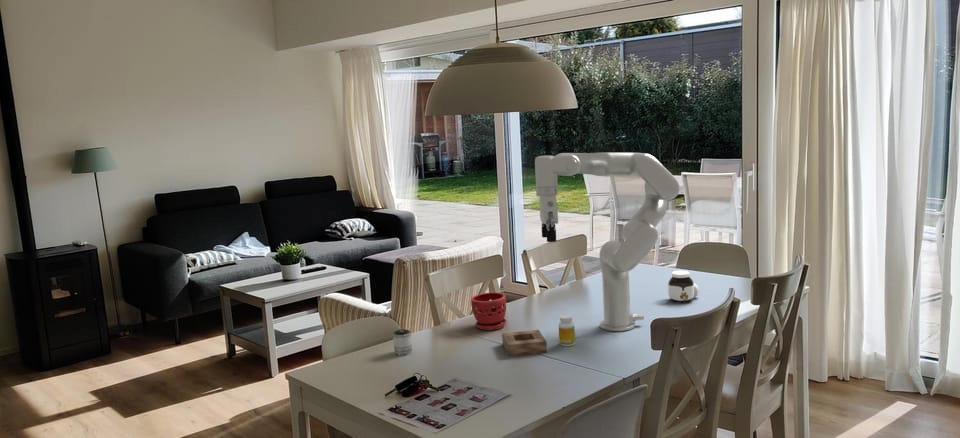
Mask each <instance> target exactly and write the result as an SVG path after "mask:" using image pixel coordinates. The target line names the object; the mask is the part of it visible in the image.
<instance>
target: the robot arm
mask: <svg viewBox="0 0 960 438" xmlns="http://www.w3.org/2000/svg"><path fill="white" fill-rule="evenodd" d="M534 169H535V170H534V171H535V172H534V173H535V193H536V197H539V201H538V202H539V218H540V222H541V237H542V238H546V242H547V243H554V242H557V228H556V225H557V224H559V214H558V202H557V196H558V195H559V191H558V190H559V186H558V176H565V177H572V176H574V175H576V174H578V175H579V174H580V175H581V174H582V175H590V176H591V175H592V176H597V177H606V178H608V177H622V178H623V177H625V178H626V177H628V178H629V177H630V178H631V177H634V178H635V177H636V178H641V179H642V180H643V181H644V191H645V192H644V195H645V199H644V203H643V204H642V206H641V207H640V208H639V209H638V211H636V213H634V215H633V216H632V217H631V218H630V219H629V220H628V222H627V223H626V224H625V225H624V226H623V227H622V229H621V237H622V239H623V242H622V241H621V242H620V241H618V240H608V241H607V242H605V243H604V244H602V246H601V247H600V249H599V263H600V269H601V278H602V279H601V280H602V301H603V302H602V303H603V320H602V321H600V323H599V327H600V328H601V329H602V330H604V331H609V332H626V331H630V330H632V329H634V328H635V327H636V323H635V322H636V321H643V320H644V319H645V318H644V315H643V314H638V313H635V314H633V313H632V312H631V301H630V299H631V298H630V296H631V295H630V294H631V293H630V274H629V272H630V271H632V270H634V269H635V268H636V267H637V266H638V265H639V264H640V262H642V261H643V260H644V258H645V257H646V256H647V255H648V254H649V253H650V252H651V250H653V249H654V247H655V246H656V244H657V242H658V239H659V234H658V233H659V232H658V229H657V228H656V227H658V225H659V223H660V222H661V221H662V220H663V219H664V218H665V215H666V213H667V211H668V201H671V200H673V199H675V198H676V197H677V196H678V195H679V193H680V183H679V181H678V180H677V178H676V177H675V176H674V175H673V174H672V173H671V172H670V170H668V169H667V168H666V167H665V166H664V165H663V164H662V163H661V162H660V160H658V159H657V158H656V157H655V156H653V155H651V154H649V153H646V152H645V153H644V152H642V153H641V152H589V153H588V152H584V153H583V152H561V153H558V154H556V155H538V156H536V157H535V159H534Z"/></svg>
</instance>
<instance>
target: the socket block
mask: <svg viewBox="0 0 960 438" xmlns="http://www.w3.org/2000/svg"><path fill="white" fill-rule="evenodd" d="M501 338H502V346H503V348H504V350H505V353H506V355H507V356H508V357H520V356H527V355H529V356H530V355H537V354H546V353H548V347H547V345H548V344H547V340H546V338H545V337H544V336H543V334H542V332H541V330H539V329H533V330H522V331H513V332H503V333H501Z"/></svg>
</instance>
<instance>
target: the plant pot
mask: <svg viewBox="0 0 960 438" xmlns="http://www.w3.org/2000/svg"><path fill="white" fill-rule="evenodd" d="M506 297H507V296H506V295H505V294H504V293H502V292H496V291H495V292H483V293H479V294H476V295H474V296H472V297H471V299H470V303H471V309H472V313H473V317H474V319H475V321H476V322H475V326H476V327H477V328H478V329H480V330H485V331H492V330H498V329H501V328H503V327H504V326H506V324H507V319H505V317H506V313H507V298H506Z"/></svg>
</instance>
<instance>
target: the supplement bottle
mask: <svg viewBox="0 0 960 438" xmlns="http://www.w3.org/2000/svg"><path fill="white" fill-rule="evenodd" d="M559 321H560V322H559V323H558V341H559V343H558V344H559V345H560V346H563V347H571V346H572V347H573V346H575V344H576V333H575V323H574V322H573V317H572V316H571V315H569V314H568V315H567V314H564V315H560V316H559Z"/></svg>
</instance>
